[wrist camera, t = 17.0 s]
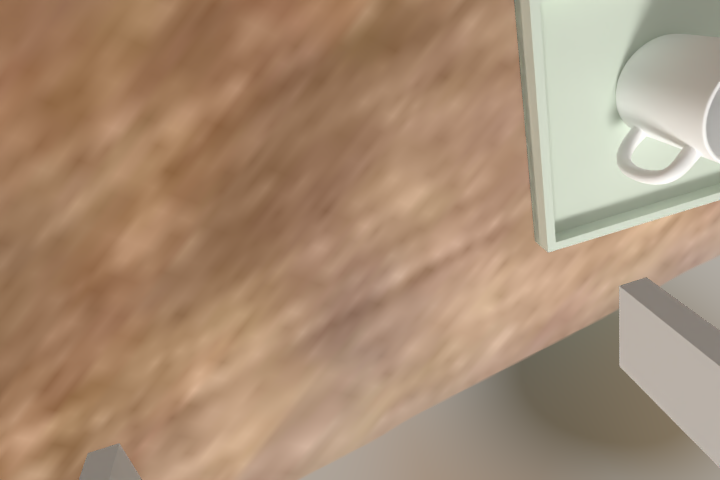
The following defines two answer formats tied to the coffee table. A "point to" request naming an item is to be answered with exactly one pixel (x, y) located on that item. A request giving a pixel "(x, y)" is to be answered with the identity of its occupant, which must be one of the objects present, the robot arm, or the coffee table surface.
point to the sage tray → (598, 115)
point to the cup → (671, 103)
